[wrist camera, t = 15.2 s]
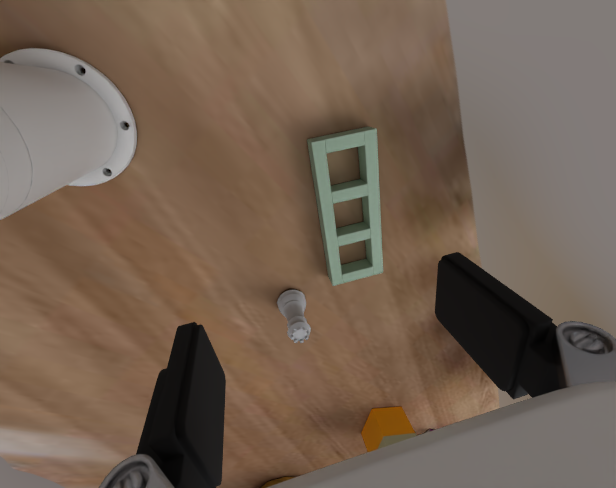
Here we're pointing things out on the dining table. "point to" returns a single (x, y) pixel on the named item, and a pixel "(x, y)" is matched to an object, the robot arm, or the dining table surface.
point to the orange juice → (386, 428)
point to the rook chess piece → (294, 314)
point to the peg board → (343, 192)
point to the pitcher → (276, 481)
